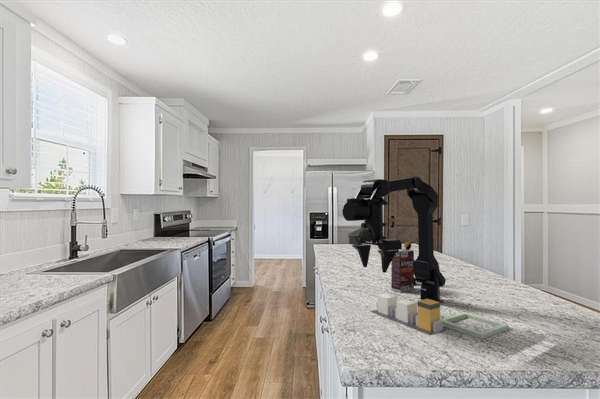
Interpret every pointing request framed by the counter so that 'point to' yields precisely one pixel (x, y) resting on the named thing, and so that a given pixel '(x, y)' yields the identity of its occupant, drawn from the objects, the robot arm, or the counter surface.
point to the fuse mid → (405, 309)
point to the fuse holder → (412, 321)
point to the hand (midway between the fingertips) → (374, 269)
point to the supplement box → (402, 271)
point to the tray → (483, 334)
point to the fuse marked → (428, 313)
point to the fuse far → (386, 303)
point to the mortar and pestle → (408, 246)
